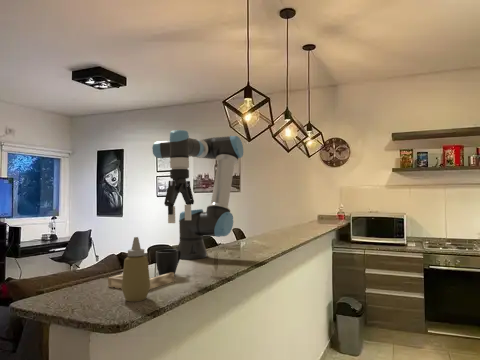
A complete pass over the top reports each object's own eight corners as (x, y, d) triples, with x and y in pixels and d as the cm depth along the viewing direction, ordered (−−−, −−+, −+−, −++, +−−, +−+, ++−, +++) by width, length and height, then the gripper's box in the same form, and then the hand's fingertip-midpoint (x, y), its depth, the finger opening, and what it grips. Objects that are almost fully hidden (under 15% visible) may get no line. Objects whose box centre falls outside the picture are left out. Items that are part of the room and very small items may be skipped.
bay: (142, 277, 135) (142, 269, 135) (174, 281, 128) (174, 272, 128) (108, 286, 121) (108, 277, 121) (141, 291, 114) (141, 282, 114)
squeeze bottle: (117, 299, 106) (117, 237, 107) (142, 294, 111) (143, 235, 112) (128, 305, 100) (128, 239, 101) (155, 299, 105) (155, 237, 106)
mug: (188, 273, 141) (188, 248, 141) (168, 279, 131) (168, 253, 131) (172, 271, 145) (172, 247, 145) (151, 277, 134) (151, 251, 135)
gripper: (185, 170, 159) (186, 219, 159) (154, 167, 136) (155, 224, 135) (201, 169, 157) (202, 219, 156) (172, 166, 133) (173, 224, 133)
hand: (180, 221), depth 146 cm, fingers open, 13 cm apart
